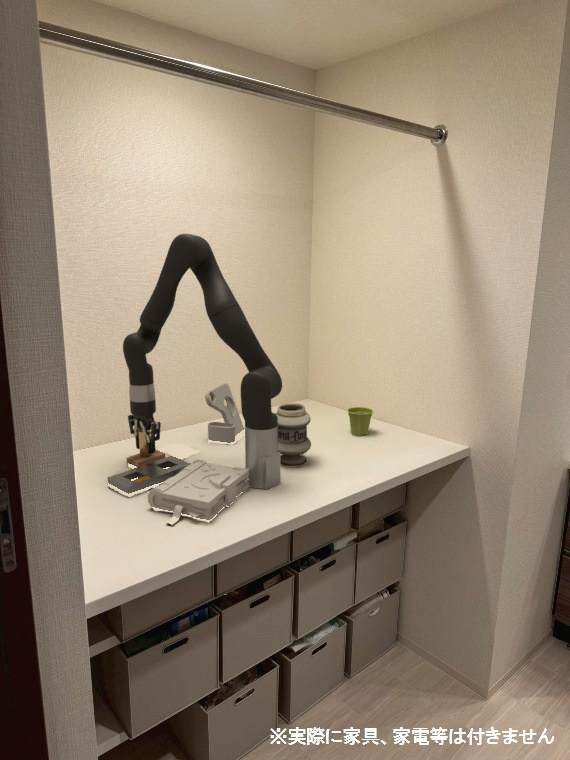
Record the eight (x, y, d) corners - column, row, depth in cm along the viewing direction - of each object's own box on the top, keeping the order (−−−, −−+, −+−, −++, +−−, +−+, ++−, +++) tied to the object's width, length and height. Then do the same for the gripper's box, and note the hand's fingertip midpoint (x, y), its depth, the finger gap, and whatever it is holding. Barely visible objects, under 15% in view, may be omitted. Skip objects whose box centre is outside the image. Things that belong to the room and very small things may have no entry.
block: (165, 462, 172) (165, 453, 171) (138, 471, 164) (137, 462, 164) (154, 457, 175) (153, 448, 175) (127, 466, 168) (126, 457, 167)
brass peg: (154, 455, 169) (153, 430, 167) (144, 458, 167) (143, 433, 165) (147, 452, 172) (146, 428, 170) (137, 455, 169) (136, 431, 167)
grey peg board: (192, 473, 163) (192, 462, 163) (128, 497, 147) (127, 486, 146) (171, 464, 170) (171, 454, 169) (108, 487, 154) (107, 476, 153)
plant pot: (345, 428, 204) (346, 406, 202) (370, 429, 204) (371, 406, 202) (347, 437, 195) (348, 414, 193) (373, 437, 195) (374, 414, 193)
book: (134, 519, 136) (133, 491, 134) (194, 477, 161) (193, 453, 159) (202, 536, 129) (201, 506, 127) (253, 489, 154) (253, 464, 152)
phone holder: (231, 446, 186) (230, 395, 182) (205, 442, 189) (203, 392, 185) (251, 430, 202) (250, 383, 198) (226, 427, 205) (225, 381, 201)
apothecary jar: (264, 461, 173) (264, 406, 169) (291, 451, 181) (291, 399, 177) (292, 471, 165) (292, 414, 160) (318, 461, 173) (319, 406, 169)
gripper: (167, 399, 163) (170, 452, 167) (139, 391, 172) (142, 442, 176) (146, 404, 157) (149, 459, 161) (118, 396, 167) (121, 448, 171)
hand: (145, 450), depth 169 cm, fingers open, 5 cm apart
